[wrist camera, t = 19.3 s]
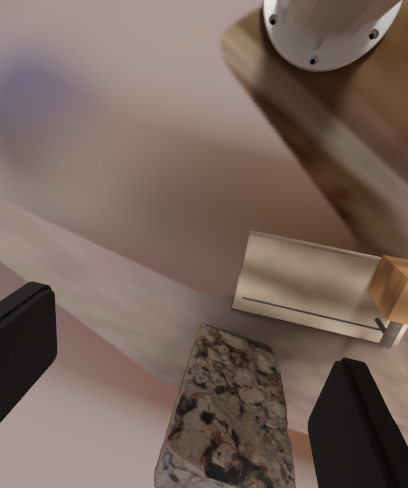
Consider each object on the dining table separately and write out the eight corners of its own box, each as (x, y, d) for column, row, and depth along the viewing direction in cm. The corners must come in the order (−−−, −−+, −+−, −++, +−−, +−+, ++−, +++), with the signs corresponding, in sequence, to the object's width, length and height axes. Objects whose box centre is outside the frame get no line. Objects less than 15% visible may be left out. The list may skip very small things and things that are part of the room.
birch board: (250, 229, 37) (250, 234, 35) (426, 266, 35) (436, 274, 33) (233, 300, 41) (232, 308, 39) (389, 336, 39) (396, 347, 37)
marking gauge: (382, 254, 33) (408, 278, 28) (418, 262, 33) (451, 288, 27) (354, 316, 37) (372, 349, 31) (386, 324, 36) (409, 358, 31)
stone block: (189, 351, 46) (147, 497, 27) (198, 316, 43) (158, 453, 25) (269, 375, 45) (280, 543, 27) (284, 342, 42) (308, 503, 24)
